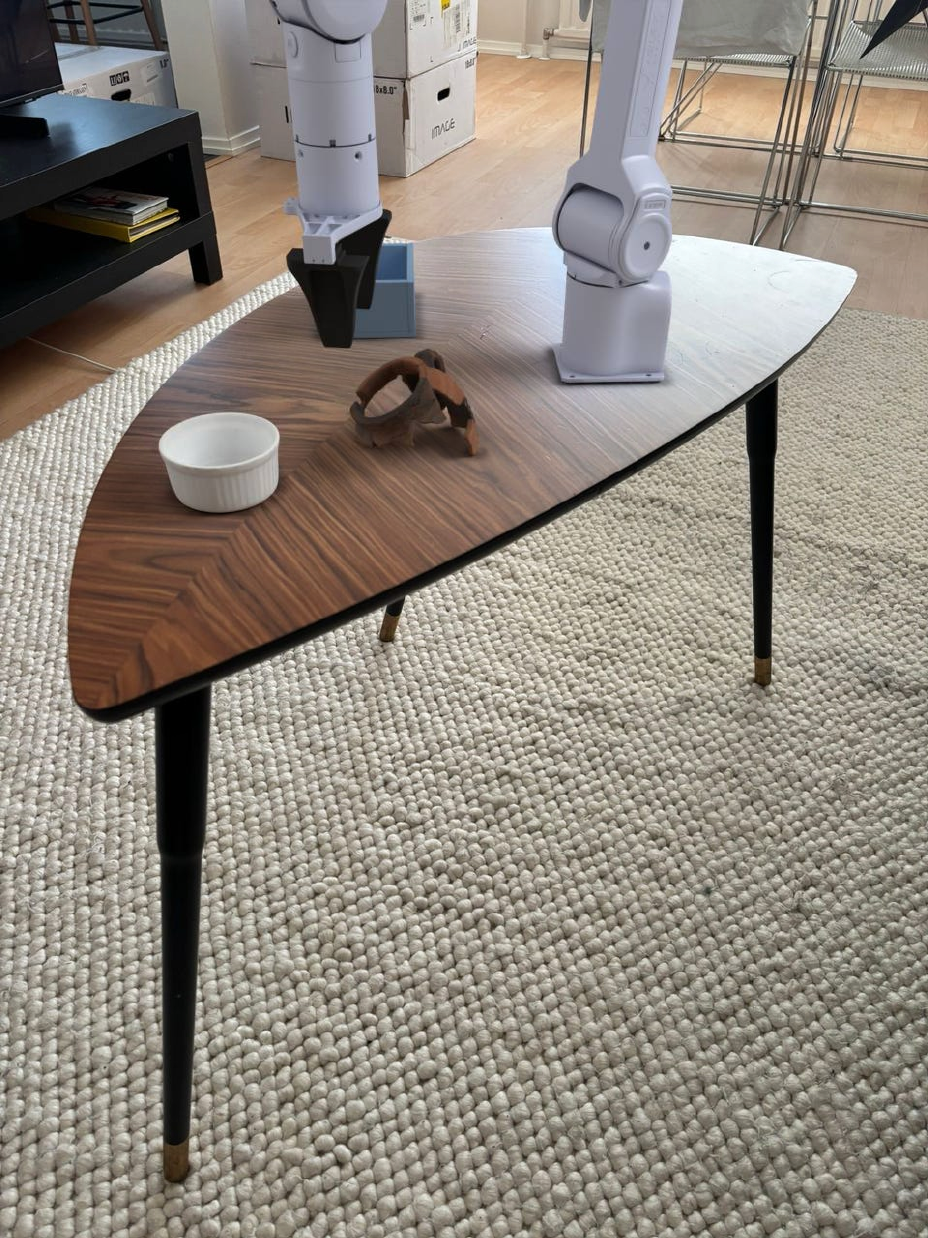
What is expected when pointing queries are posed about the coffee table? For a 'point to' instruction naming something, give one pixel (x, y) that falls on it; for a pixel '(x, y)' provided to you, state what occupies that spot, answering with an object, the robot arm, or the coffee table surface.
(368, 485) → the coffee table surface
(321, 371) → the coffee table surface
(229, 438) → the ramekin
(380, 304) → the bin
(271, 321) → the coffee table surface
